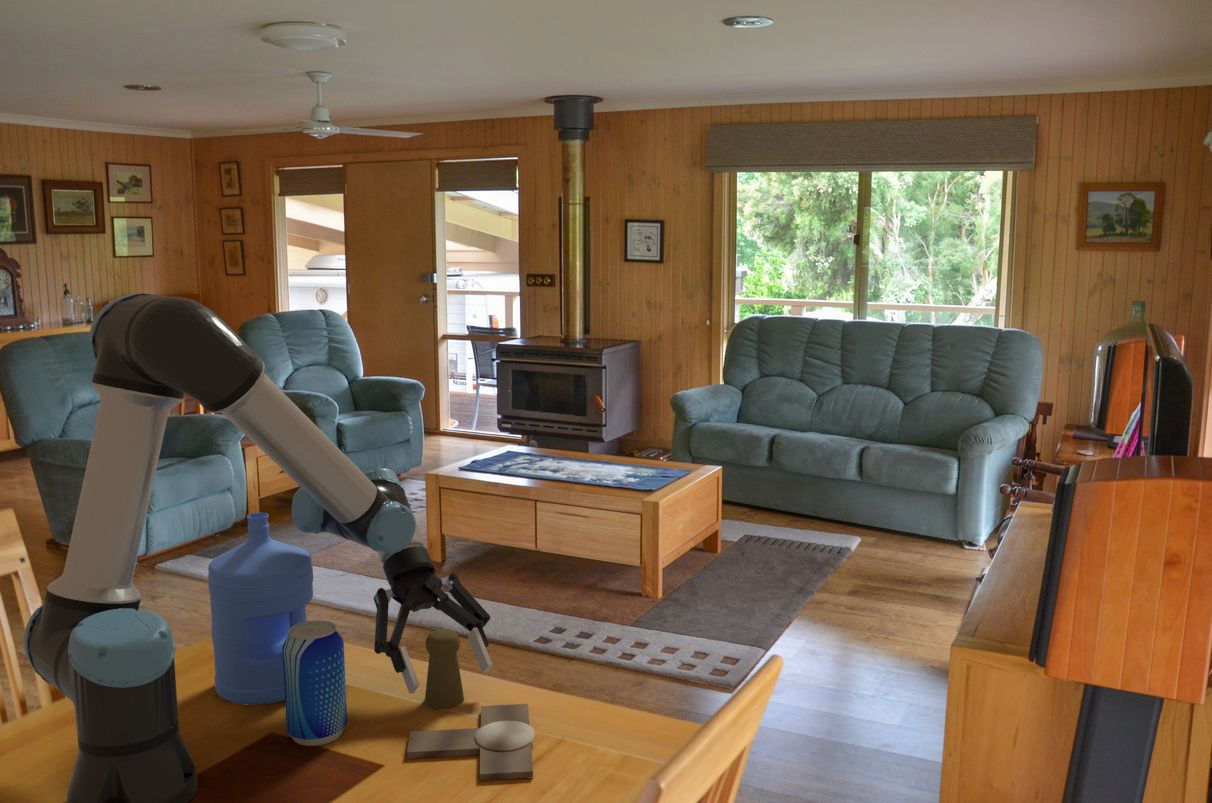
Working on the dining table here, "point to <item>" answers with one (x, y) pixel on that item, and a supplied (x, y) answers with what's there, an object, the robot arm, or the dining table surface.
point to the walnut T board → (484, 743)
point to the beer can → (314, 683)
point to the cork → (443, 670)
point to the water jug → (256, 613)
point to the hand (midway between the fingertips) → (451, 679)
